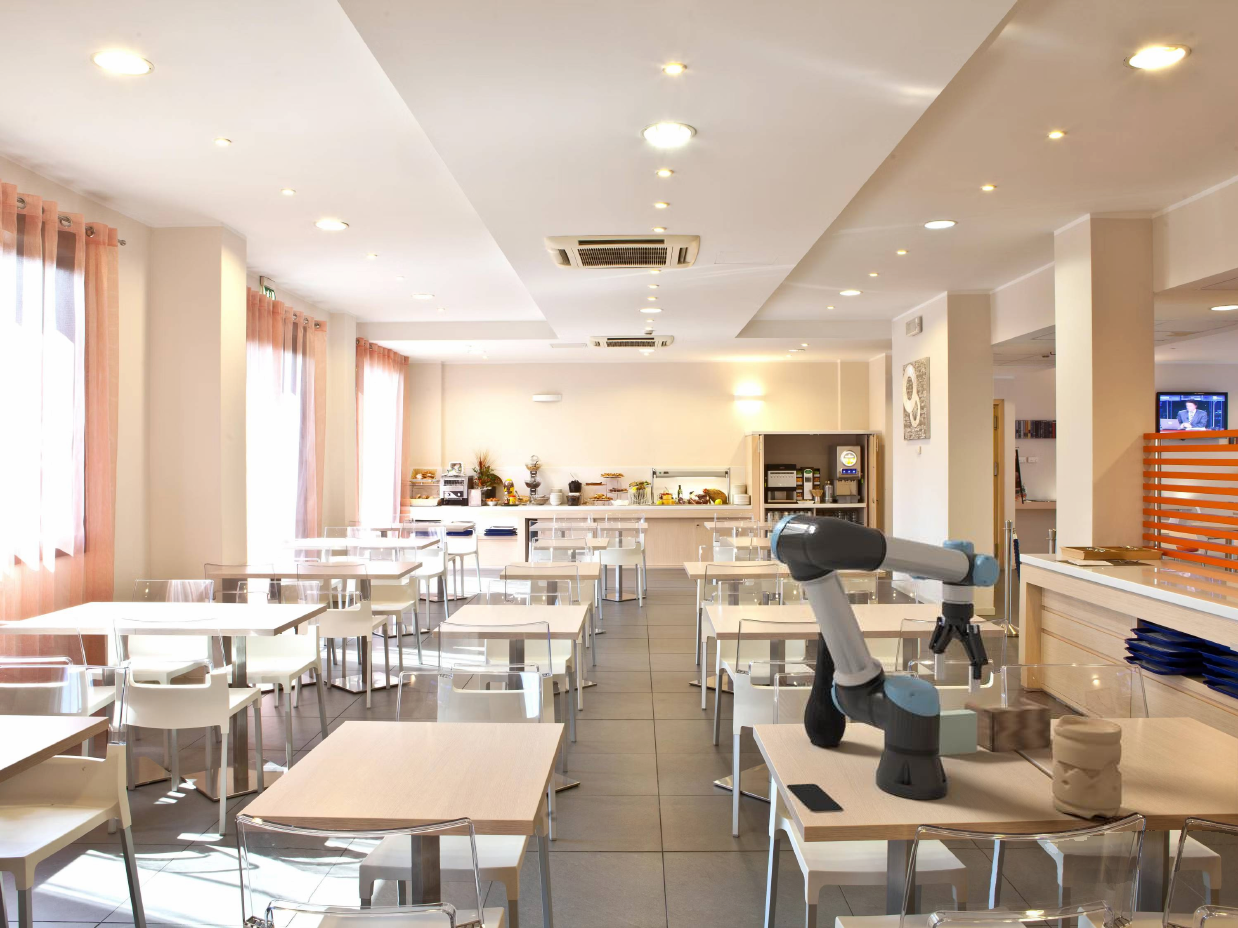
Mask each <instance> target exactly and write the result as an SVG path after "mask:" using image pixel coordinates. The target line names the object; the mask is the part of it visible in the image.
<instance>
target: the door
mask: <svg viewBox="0 0 1238 928" xmlns="http://www.w3.org/2000/svg"><path fill="white" fill-rule="evenodd" d="M973 753H978V745H977V713H976V712H974V711H971V710H965V709H957V710H954V709H953V710H940V741H939V755H940V756H950V755H963V754H973Z"/></svg>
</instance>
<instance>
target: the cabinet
mask: <svg viewBox="0 0 1238 928" xmlns="http://www.w3.org/2000/svg"><path fill="white" fill-rule="evenodd" d="M964 710H971V711H974V712H976V713H977V747H980V748H983V749H985V750H986V751H989V752H1005V751H1015V750H1019V751H1020V750H1027V749H1028V750H1030V749H1041V748H1051V745H1052V743H1051V736H1052V735H1051V734H1052V733H1051V729H1052V728H1051V727H1052V726H1051V725H1052V723H1051V719H1052V718H1051V717H1052V713H1051V711H1052V710H1051V707H1048V706H1045V705H1043V704H1040V703H1038V702H1035V701H1031V700H1029V699H1026V698H1024V697H1021V698H1019V706H1007V707H1003V706H1002V707H989V708H988V707H987V708H985V707H983V706H980V705H978V704H975V703H973V702H971V701H965V704H964Z"/></svg>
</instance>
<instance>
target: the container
mask: <svg viewBox="0 0 1238 928" xmlns="http://www.w3.org/2000/svg"><path fill="white" fill-rule="evenodd" d="M1053 726H1054V727H1053V732H1054V733H1053V734H1052V769H1051V771H1052V773H1051V774H1052V780H1051V781H1052V782H1051V783H1052V784H1051V785H1052V787H1051V789H1052V790H1051V791H1052V794H1053V795H1052V800H1051V801H1052V805H1053V807H1052V808H1054V809H1056V811H1058V812H1063V813H1062V814H1068V815H1069V814H1070V815H1076V816H1079V817H1083V818H1086V819H1089V820H1090V819H1092V817H1094V816H1099V817H1102V818H1106V819H1107V818H1113V817H1114V816H1116V814H1117V813H1118V812H1119V811H1120V809H1121V805H1122V801H1123V800H1122V798H1123V797H1122V795H1123V794H1122V792H1123V790H1122V789H1123V788H1122V787H1123V784H1122V781H1123V780H1122V776H1123V775H1122V771H1120V770H1119V768H1118V766H1119V765H1120V763H1121V760H1122V750H1123V748H1122V743H1121V739H1122V737H1123V736H1122V733H1123V731H1122V727H1121V726H1120V725H1119V724H1117V723H1114V722H1112V721H1110V720H1109V721H1108V720H1105V719H1102V718H1097V717H1091V716H1080V715H1074V714H1069V715H1067V714H1066V715H1062V716H1061V717H1059V718H1058V721H1057V722H1056V724H1055V725H1053Z"/></svg>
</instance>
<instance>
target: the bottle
mask: <svg viewBox="0 0 1238 928" xmlns="http://www.w3.org/2000/svg"><path fill="white" fill-rule="evenodd" d="M817 635H818V638H817V639H818V641H817V655H816V663H815V669H814V670H815V671H814V679H813V682H812V687H811V691H810V695H809V698H808V699H807V703H806V705H805V710H804V715H803V725H804V730H805V733H806V735H807V737H808V738H809V740H810V744H811V743H812V745H813V746H815V747H818V748H819V747H820V748H826V749H831V748H832V749H833V748H837V747H839V746H840V742H841V740H842V739H843V737H844V735H845V732H846V726H847V720H846V718H847V716H846V715H844V714H843V713H841V712H840V711H839V710H838V708H837V707H836V705H835V704H834V701H833V698H832V693H831V689H832V688H833V686H834V685H832V683H833V680H834V678H833V675H834V672H835V670H836V666H835V664H834V661H833V659H832V656H831V654H830V652H829V649H828V647H827V644H826V642H825V639H824V637H823V634H822V632H821V629H820V628H819V631H818V633H817Z"/></svg>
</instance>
